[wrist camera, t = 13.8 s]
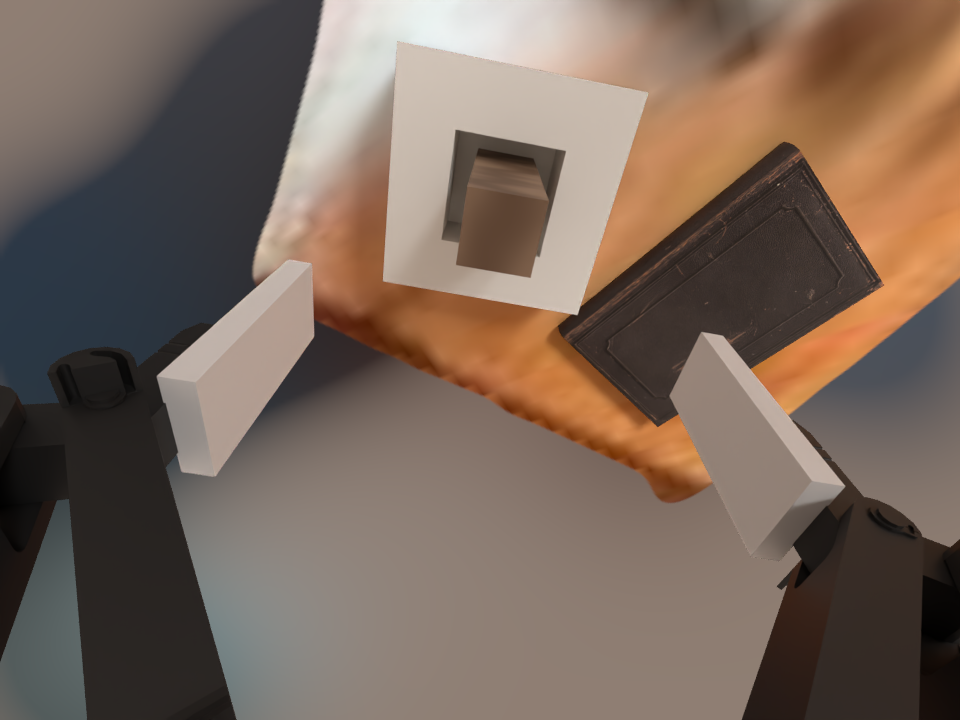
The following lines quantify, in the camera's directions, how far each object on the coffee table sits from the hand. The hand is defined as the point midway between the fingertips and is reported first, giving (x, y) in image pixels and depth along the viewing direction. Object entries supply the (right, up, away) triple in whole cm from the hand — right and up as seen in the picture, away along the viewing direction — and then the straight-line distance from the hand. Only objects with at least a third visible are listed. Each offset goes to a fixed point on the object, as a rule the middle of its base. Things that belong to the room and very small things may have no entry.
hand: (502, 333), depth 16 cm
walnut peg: (+1, +14, +22) cm, 26 cm away
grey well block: (+1, +14, +22) cm, 26 cm away
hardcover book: (+21, +5, +28) cm, 35 cm away
